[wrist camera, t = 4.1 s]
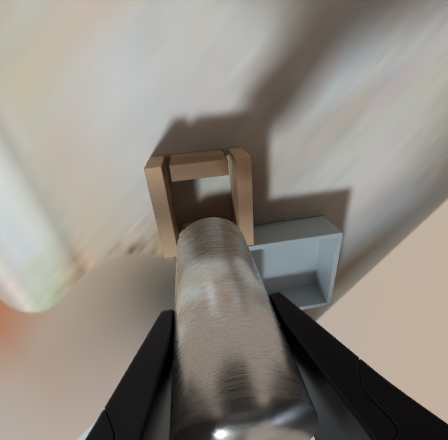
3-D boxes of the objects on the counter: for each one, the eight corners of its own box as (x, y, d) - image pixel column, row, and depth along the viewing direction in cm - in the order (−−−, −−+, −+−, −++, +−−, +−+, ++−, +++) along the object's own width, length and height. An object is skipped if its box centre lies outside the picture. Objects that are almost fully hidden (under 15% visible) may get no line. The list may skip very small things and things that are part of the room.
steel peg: (246, 269, 14) (311, 456, 7) (182, 279, 13) (182, 486, 6) (243, 212, 12) (327, 382, 5) (171, 222, 12) (153, 418, 5)
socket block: (244, 225, 21) (253, 244, 19) (167, 236, 21) (164, 257, 18) (241, 147, 18) (251, 156, 16) (149, 157, 18) (143, 168, 15)
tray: (315, 282, 26) (330, 304, 23) (241, 295, 25) (248, 319, 22) (324, 215, 22) (343, 232, 19) (237, 227, 21) (244, 247, 19)
